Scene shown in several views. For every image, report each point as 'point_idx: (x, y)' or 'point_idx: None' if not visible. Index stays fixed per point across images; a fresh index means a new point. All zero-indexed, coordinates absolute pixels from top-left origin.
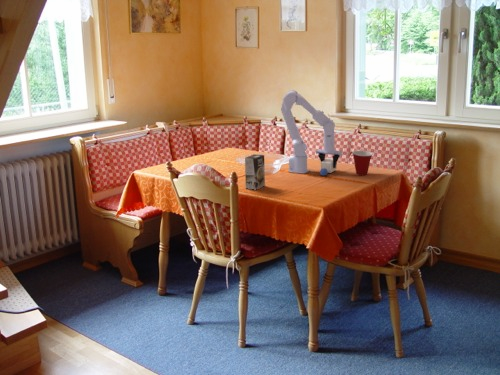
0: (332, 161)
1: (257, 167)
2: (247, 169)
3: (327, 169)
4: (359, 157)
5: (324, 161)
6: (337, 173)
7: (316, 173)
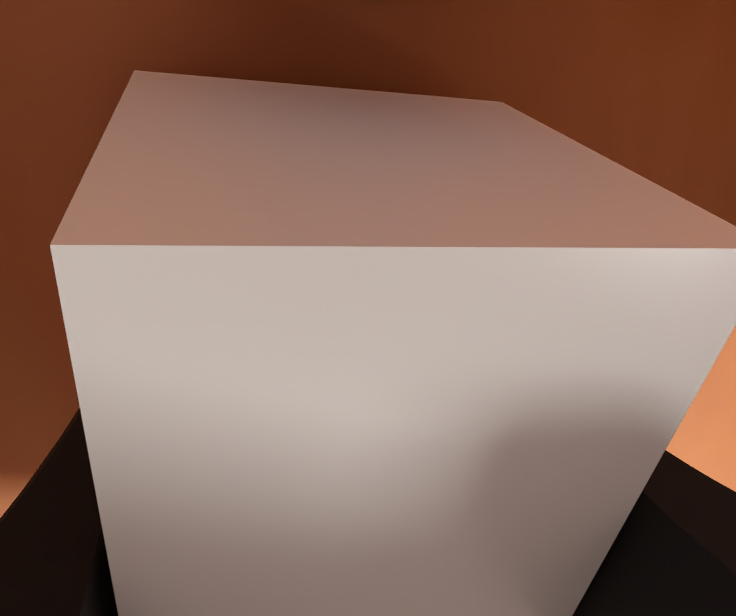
0: (157, 596)
1: None
2: None
3: (289, 109)
4: None
5: (573, 456)
6: (5, 269)
7: (600, 93)
